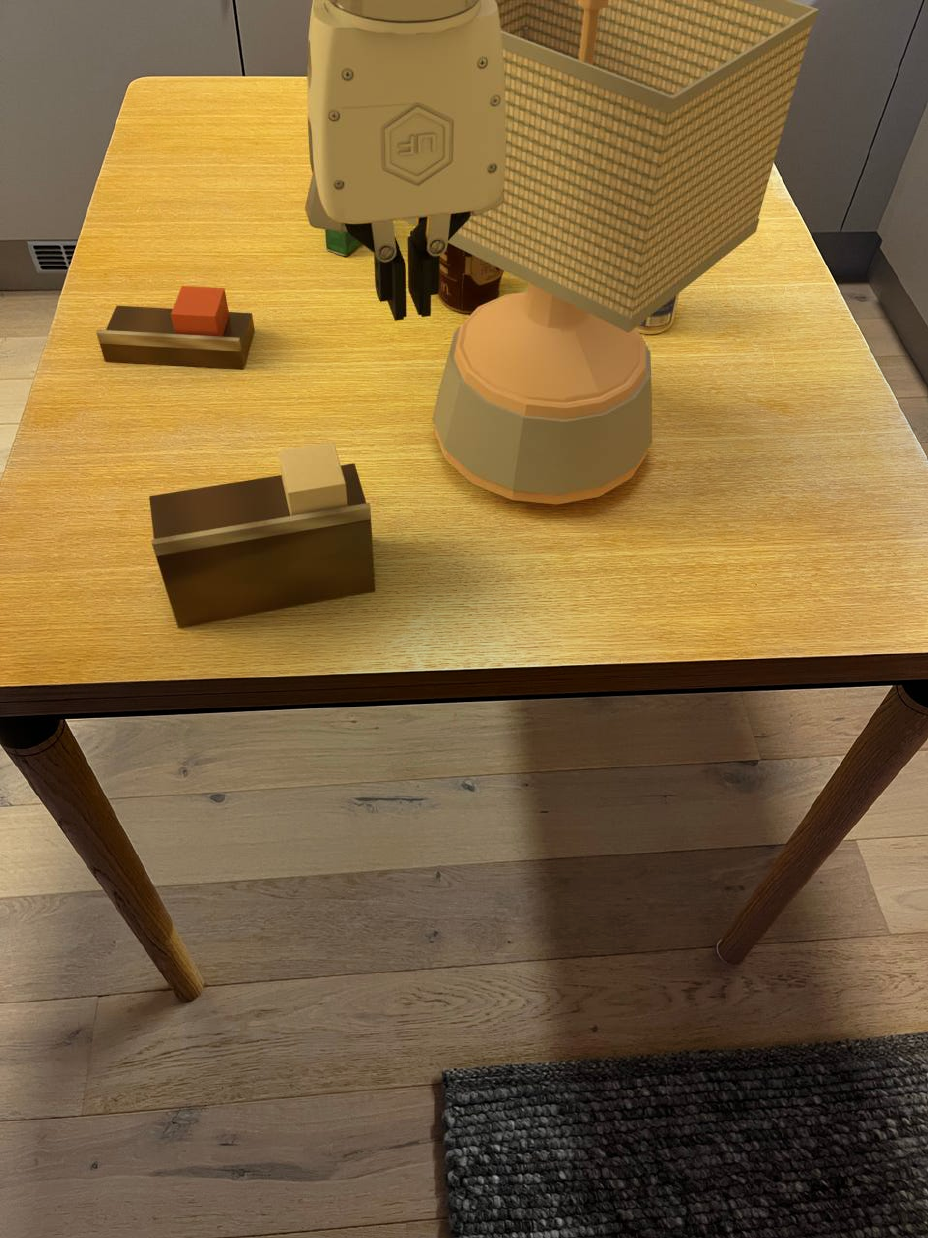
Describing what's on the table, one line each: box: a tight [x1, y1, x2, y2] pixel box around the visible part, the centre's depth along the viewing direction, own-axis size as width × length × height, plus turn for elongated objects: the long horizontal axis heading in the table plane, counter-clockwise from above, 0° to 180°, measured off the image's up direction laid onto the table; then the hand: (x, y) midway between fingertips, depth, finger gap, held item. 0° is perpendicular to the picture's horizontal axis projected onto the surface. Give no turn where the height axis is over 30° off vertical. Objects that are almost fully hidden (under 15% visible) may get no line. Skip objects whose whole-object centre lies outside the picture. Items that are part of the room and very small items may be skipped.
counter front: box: [148, 462, 376, 628], centre depth 74 cm, size 15×6×9 cm, turn 105°
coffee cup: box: [437, 243, 505, 314], centre depth 97 cm, size 9×8×13 cm
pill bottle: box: [636, 293, 680, 335], centre depth 97 cm, size 5×5×9 cm
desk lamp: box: [402, 0, 819, 505], centre depth 74 cm, size 22×19×37 cm
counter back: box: [95, 305, 256, 370], centre depth 94 cm, size 13×6×3 cm, turn 87°
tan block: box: [277, 441, 348, 516], centre depth 71 cm, size 4×4×3 cm
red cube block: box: [171, 285, 230, 337], centre depth 93 cm, size 4×4×3 cm
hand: (407, 304), depth 62 cm, fingers closed
